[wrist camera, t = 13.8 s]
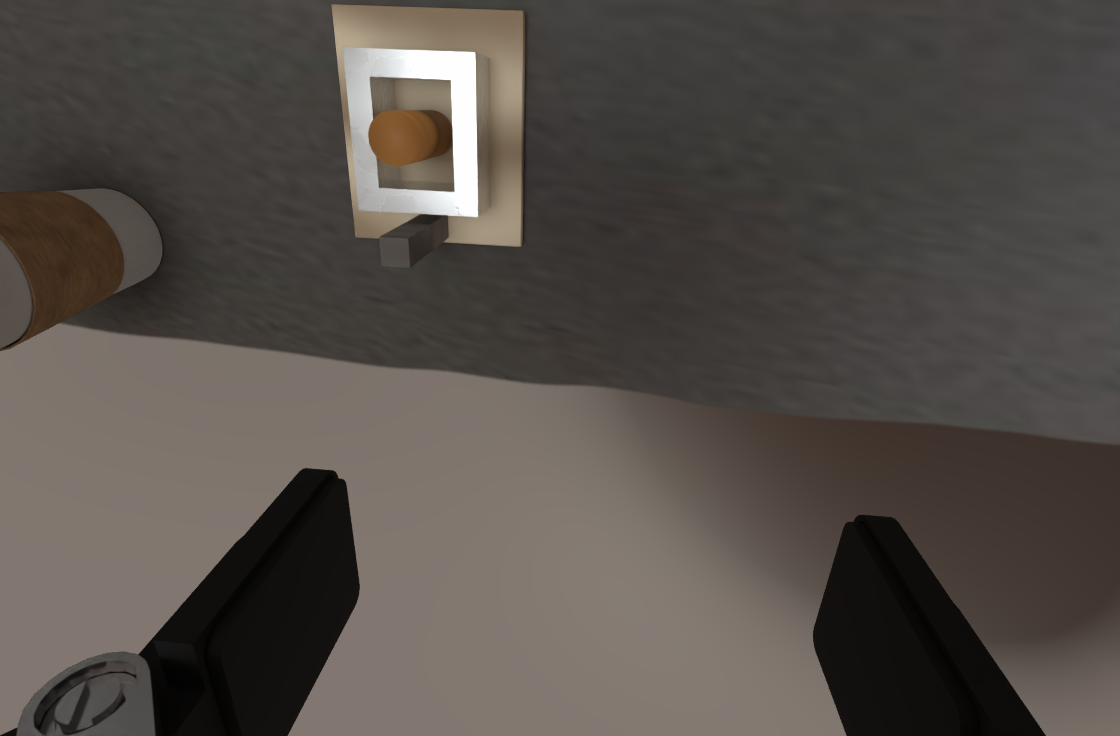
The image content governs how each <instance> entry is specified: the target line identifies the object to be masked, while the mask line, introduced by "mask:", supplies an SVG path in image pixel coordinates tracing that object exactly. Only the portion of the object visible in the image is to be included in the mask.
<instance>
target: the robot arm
mask: <svg viewBox="0 0 1120 736" xmlns="http://www.w3.org/2000/svg"><path fill="white" fill-rule="evenodd" d="M359 590H360V584H359V576H358V569H357V562H356V553H355V546H354V538H353V531H352V524H351V516H350V508H349V501H348V493H347V486H346V482H345V481H344V480H343V479H338V475H337V474H336V472H335V471H333V470H321V469H309V468H305V469H302V470H301V471H300V472H299V473H298V474H297V475H296V476H295V477H294V478H293V480H292V481H291V482H290V483H289V484H288V485H287V486H286V488H285V489H284V490H283V491H282V492H281V493H280V494H279V496H278V497H277V498H276V499H275V500H274V502H273V503H272V504H271V505H270V506H269V507H268V508H267V510H266V511H265V512H264V513H263V514H262V515H261V516H260V518H259V519H258V520H257V521H256V522H255V523H254V524H253V526H252V527H251V528H250V529H249V530H248V532H247V533H246V534H245V535H244V536H243V537H242V538H241V539H239V540H238V541H237V542H236V543H235V544H234V546H233V547H232V548H231V549H230V550H229V551H228V552H227V553H226V555H225V556H224V557H223V558H222V559H221V560H220V562H219V563H218V564H217V565H216V566H215V567H214V568H213V570H212V571H211V572H210V573H209V574H208V575H207V576H206V578H205V579H204V580H203V581H202V582H201V583H200V584H199V586H198V587H197V588H196V589H195V590H194V591H193V592H192V594H191V595H190V596H189V597H188V598H187V599H186V601H185V602H184V603H183V604H182V605H181V606H180V607H179V609H178V610H177V611H176V612H175V613H174V615H173V616H172V617H171V618H170V619H169V620H168V621H167V622H166V623H165V625H164V626H163V627H162V628H161V629H160V630H159V632H158V633H157V634H156V635H155V636H154V637H153V638H152V640H151V641H150V642H149V643H148V644H147V645H146V646H145V648H144V649H143V650H142V651H141V652H140V653H139V654H134V653H129V652H112V653H105V654H101V655H98V656H95V657H91V658H88V659H86V660H84V661H81V662H79V663H77V664H75V665H73V666H71V667H69V668H67V669H66V670H64V671H63V672H61V673H59V674H58V675H57V676H55V677H54V678H52V679H51V680H49V681H48V682H47V683H46V684H45V685H44V686H43V687H42V688H41V689H39V690H38V691H37V692H36V693H35V694H34V695H33V697H32V698H31V699H30V701H29V702H28V704H27V705H26V706H25V708H24V709H23V711H22V714H21V717H20V720H19V723H18V727H17V728H15V729H13V730H11V731H9V732H7V733H5V734H2V735H0V736H288V734H289V732H290V730H291V728H292V726H293V724H294V722H295V720H296V719H297V717H298V715H299V713H300V711H301V709H302V707H303V705H304V703H305V701H306V699H307V697H308V695H309V694H310V691H311V690H312V687H313V686H314V684H315V682H316V680H317V678H318V676H319V674H320V672H321V671H322V669H323V667H324V665H325V663H326V661H327V659H328V657H329V655H330V653H331V651H332V649H333V648H334V645H335V643H336V642H337V640H338V638H339V636H340V634H341V632H342V630H343V628H344V626H345V624H346V623H347V621H348V619H349V617H350V615H351V613H352V611H353V609H354V607H355V605H356V603H357V600H358V596H359ZM813 642H814V648H815V651H816V654H817V656H818V659H819V662H820V665H821V667H822V670H823V673H824V676H825V678H826V681H827V684H828V686H829V689H830V692H831V695H832V697H833V700H834V703H835V705H836V708H837V711H838V714H839V716H840V719H841V722H842V724H843V727H844V730H845V732H846V735H847V736H1046V735H1045V734H1044V733H1043V731H1042V730H1041V728H1040V726H1039V725H1038V723H1037V722H1036V721H1035V719H1034V718H1033V716H1032V715H1031V713H1030V712H1029V710H1028V709H1027V707H1026V706H1025V705H1024V703H1023V702H1022V700H1021V699H1020V697H1019V696H1018V694H1017V693H1016V692H1015V690H1014V689H1013V687H1012V686H1011V684H1010V683H1009V681H1008V680H1007V678H1006V677H1005V675H1004V674H1003V672H1002V671H1001V670H1000V668H999V667H998V665H997V664H996V662H995V661H994V659H993V658H992V657H991V655H990V654H989V652H988V651H987V649H986V648H985V646H984V645H983V644H982V642H981V640H980V639H979V638H978V636H977V635H976V633H975V632H974V630H973V629H972V627H971V626H970V624H969V623H968V621H967V620H966V619H965V617H964V616H963V614H962V613H961V611H960V610H959V609H958V608H957V606H956V605H955V604H954V603H953V601H952V600H951V599H950V597H949V596H948V594H947V593H946V591H945V590H944V588H943V587H942V585H941V584H940V582H939V581H938V580H937V578H936V577H935V575H934V574H933V572H932V571H931V569H930V568H929V567H928V565H927V564H926V562H925V561H924V559H923V558H922V556H921V555H920V553H919V552H918V550H917V549H916V547H915V546H914V544H913V543H912V542H911V540H910V539H909V537H908V536H907V534H906V533H905V532H904V530H903V528H902V527H901V525H900V524H899V523H898V522H897V520H896V519H894V518H892V517H883V516H871V515H858V516H857V517H856V518H855V520H854V522H847V523H846V524H845V526H844V528H843V531H842V535H841V538H840V541H839V545H838V548H837V552H836V555H835V558H834V562H833V565H832V569H831V572H830V575H829V579H828V582H827V585H826V589H825V592H824V595H823V599H822V602H821V606H820V609H819V612H818V616H817V619H816V622H815V626H814V631H813Z"/></svg>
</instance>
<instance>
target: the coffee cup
mask: <svg viewBox="0 0 1120 736" xmlns="http://www.w3.org/2000/svg"><path fill="white" fill-rule="evenodd" d="M162 250H163V247H162V240H161V236H160V233H159V230H158V228H157V226H156V224H155V222H154V221H153V219H152V218H151V216H150V215H149V214H148V212H147V211H146V210H145V209H144V208H143V207H142V206H141V205H140V204H139V203H137V202H136V201H135V200H133V199H132V198H130V197H129V196H127V195H125V194H123V193H121V192H118V191H115V190H111V189H104V188H99V189H82V190H67V191H29V192H0V351H2V350H6V349H10V348H12V347H14V346H16V345H18V344H20V343H22V342H24V341H26V340H28V339H29V338H31V337H33V336H35V335H37V334H39V333H41V332H43V331H45V330H47V329H49V328H51V327H53V326H55V325H56V324H58V323H60V322H62V321H64V320H66V319H68V318H70V317H72V316H74V315H76V314H78V313H79V312H81V311H83V310H85V309H87V308H89V307H91V306H93V305H95V304H97V303H99V302H101V301H103V300H104V299H106V298H108V297H110V296H112V295H113V294H115V293H117V292H119V291H121V290H123V289H126V288H128V287H130V286H132V285H134V284H136V283H138V282H140V281H142V280H144V279H146V278H147V277H149V276H151V275H152V274H153V273H154V272H155V271H156V270H157V268H158V266H159V264H160V262H161V258H162Z"/></svg>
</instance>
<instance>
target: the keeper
mask: <svg viewBox="0 0 1120 736" xmlns="http://www.w3.org/2000/svg"><path fill="white" fill-rule="evenodd" d="M332 13H333V23H334V32H335V42H336V52H337V61H338V71H339V81H340V90H341V100H342V110H343V119H344V129H345V139H346V148H347V158H348V168H349V177H350V187H351V197H352V206H353V216H354V226H355V236H356V237H362V238H379V241H380V253H381V264H382V266H390V267H407V268H410V267H412V266H413V265H414V264H415V263H417V262H418V261H419V260H421V259H422V258H423V257H424V256H426V255H427V254H428V253H430V252H431V251H432V250H433V249H435V248H436V247H437V246H439V245H440V244H441V243H442V242H448V243H465V244H482V245H499V246H517V247H521V245H522V244H523V169H524V92H525V14H526V13H525V12H524V11H515V10H484V9H454V8H424V7H393V6H363V5H332ZM343 47H347V48H373V49H399V50H426V51H452V52H475V53H478V54H481V55H483V56H486V57H488V58H490V153H491V207H490V208H489V209H487V210H486V211H485V212H484V213H482V214H481V215H480V216H479V217H468V216H450V215H432V214H414V213H397V212H379V211H361V210H359V208H358V198H357V188H356V178H355V168H354V158H353V148H352V138H351V127H350V117H349V107H348V97H347V87H346V77H345V67H344V57H343ZM394 82H395V96H396V110H389V111H384V112H381V113H380V114H378V115H377V116H376V117H375V118H374V119H373V120H372V122H371V124H370V127H369V131H368V139H369V144H370V147H371V149H372V151H373V153H374V154H375V156H376V157H377V158H378V159H379V160H380V161H382V162H383V163H385V164H387V165H390V166H395V167H400V170H401V180H402V181H422V182H441V183H454V157H453V127H452V96H451V82H440V81H416V80H394Z"/></svg>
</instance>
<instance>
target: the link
mask: <svg viewBox="0 0 1120 736" xmlns="http://www.w3.org/2000/svg"><path fill="white" fill-rule="evenodd" d="M343 57H344V67H345V77H346V87H347V97H348V107H349V117H350V127H351V138H352V148H353V158H354V168H355V178H356V188H357V198H358V208H359V210H361V211H379V212H397V213H414V214H432V215H450V216H468V217H479V216H480V215H481V214H482V213H484V212H485V211H486V210H487V209H489V208H490V207H491V153H490V58H488V57H486V56H483V55H481V54H478V53H475V52H452V51H426V50H399V49H373V48H347V47H343ZM394 80H416V81H440V82H451V96H452V127H453V157H454V183H441V182H422V181H402V180H401V170H400V167H395V166H390V165H387V164H385V163H383V162H382V161H380V160H379V159H378V158H377V157H376V156H375V154H374V153H373V151H372V149H371V147H370V144H369V139H368V131H369V127H370V124H371V122H372V120H373V119H374V118H375V117H376V116H377V115H378V114H380V113H381V112H384V111H389V110H396V96H395V82H394Z"/></svg>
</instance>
